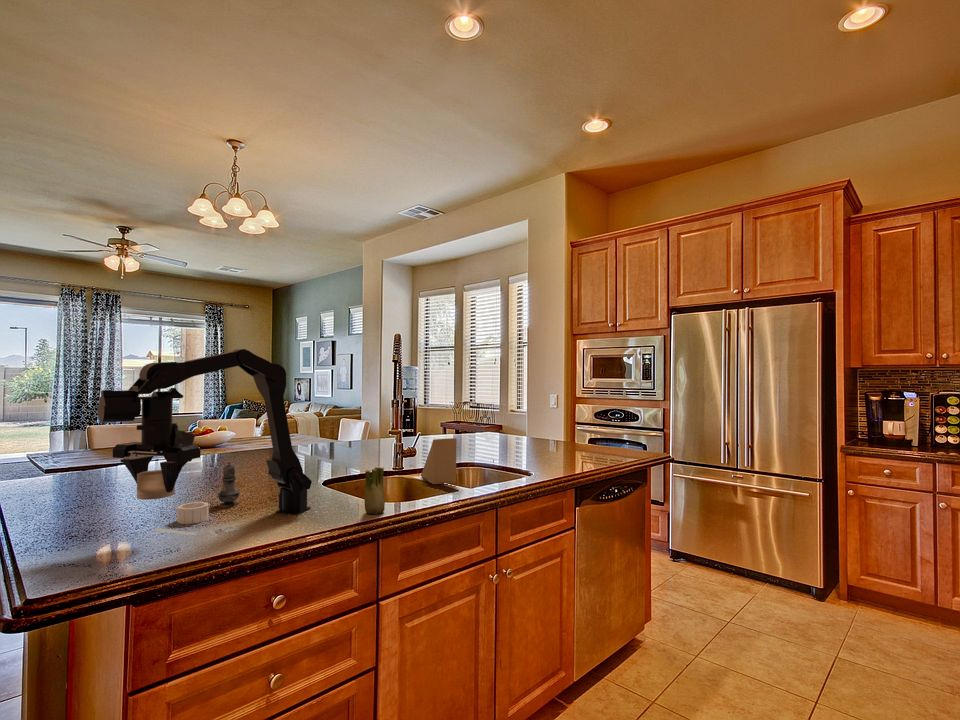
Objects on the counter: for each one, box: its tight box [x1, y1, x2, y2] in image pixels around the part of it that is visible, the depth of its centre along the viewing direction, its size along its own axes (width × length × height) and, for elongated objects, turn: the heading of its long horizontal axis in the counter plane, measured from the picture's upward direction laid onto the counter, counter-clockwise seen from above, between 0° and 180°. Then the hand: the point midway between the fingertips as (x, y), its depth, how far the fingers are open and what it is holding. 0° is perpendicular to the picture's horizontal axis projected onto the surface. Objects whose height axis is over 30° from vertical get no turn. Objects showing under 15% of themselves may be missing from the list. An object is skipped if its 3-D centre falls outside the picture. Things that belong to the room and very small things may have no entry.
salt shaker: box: [216, 461, 241, 508], centre depth 140 cm, size 6×6×12 cm
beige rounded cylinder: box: [136, 469, 176, 501], centre depth 110 cm, size 7×7×5 cm
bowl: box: [176, 501, 210, 525], centre depth 125 cm, size 7×7×4 cm
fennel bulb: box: [364, 466, 386, 515], centre depth 133 cm, size 6×5×12 cm
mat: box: [151, 528, 200, 536], centre depth 110 cm, size 12×12×1 cm
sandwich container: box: [420, 437, 458, 485], centre depth 176 cm, size 9×15×15 cm, turn 23°
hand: (156, 490), depth 110 cm, fingers closed on beige rounded cylinder, 7 cm apart
